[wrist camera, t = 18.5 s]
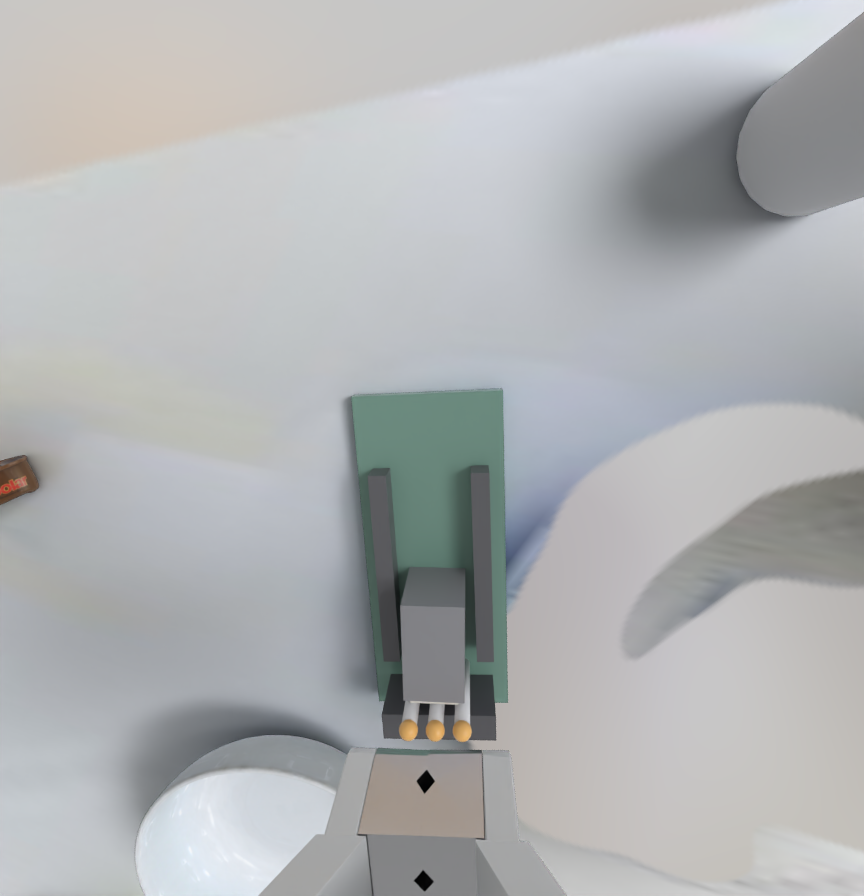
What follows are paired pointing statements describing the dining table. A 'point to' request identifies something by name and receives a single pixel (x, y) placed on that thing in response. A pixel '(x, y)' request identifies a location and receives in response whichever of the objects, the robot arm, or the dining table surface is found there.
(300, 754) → the serving bowl
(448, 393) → the header board
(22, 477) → the tin
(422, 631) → the plug
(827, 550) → the dining table surface
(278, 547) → the dining table surface
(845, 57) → the can
